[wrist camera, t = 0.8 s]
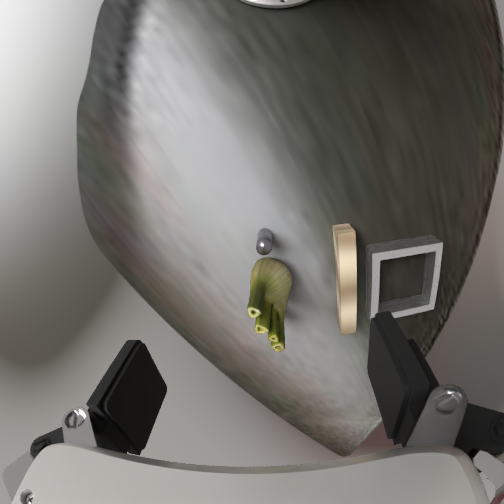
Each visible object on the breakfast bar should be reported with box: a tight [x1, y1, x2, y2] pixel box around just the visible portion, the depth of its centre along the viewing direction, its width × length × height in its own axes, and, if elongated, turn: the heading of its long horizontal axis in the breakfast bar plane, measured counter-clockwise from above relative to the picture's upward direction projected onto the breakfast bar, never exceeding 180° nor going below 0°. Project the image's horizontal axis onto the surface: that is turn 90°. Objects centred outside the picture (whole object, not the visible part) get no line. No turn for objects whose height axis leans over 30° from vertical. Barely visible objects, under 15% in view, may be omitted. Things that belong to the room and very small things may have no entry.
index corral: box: [365, 235, 443, 322], centre depth 32 cm, size 10×10×3 cm
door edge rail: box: [333, 223, 357, 335], centre depth 33 cm, size 14×2×3 cm, turn 10°
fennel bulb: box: [247, 258, 292, 352], centre depth 29 cm, size 6×5×12 cm
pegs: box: [256, 229, 272, 255], centre depth 33 cm, size 12×2×4 cm, turn 10°
